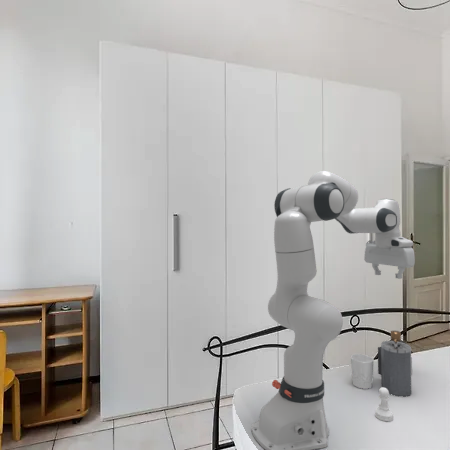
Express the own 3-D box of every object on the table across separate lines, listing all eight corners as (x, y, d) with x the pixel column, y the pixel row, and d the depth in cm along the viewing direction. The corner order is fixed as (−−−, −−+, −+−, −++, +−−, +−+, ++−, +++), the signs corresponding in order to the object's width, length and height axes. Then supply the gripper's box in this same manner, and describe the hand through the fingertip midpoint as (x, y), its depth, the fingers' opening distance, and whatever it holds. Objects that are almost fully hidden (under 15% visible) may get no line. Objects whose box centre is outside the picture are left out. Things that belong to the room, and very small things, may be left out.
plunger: (397, 389, 114) (397, 336, 114) (381, 380, 120) (380, 330, 120) (411, 385, 117) (410, 333, 117) (394, 377, 123) (394, 327, 123)
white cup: (376, 391, 118) (375, 363, 118) (352, 389, 119) (352, 361, 119) (371, 380, 126) (370, 354, 126) (349, 379, 127) (348, 353, 127)
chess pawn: (375, 410, 105) (375, 382, 105) (392, 414, 103) (392, 385, 103) (375, 419, 101) (374, 389, 101) (393, 423, 99) (393, 393, 99)
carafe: (398, 399, 112) (398, 352, 112) (370, 383, 123) (370, 341, 123) (417, 393, 116) (417, 347, 116) (388, 378, 127) (388, 337, 127)
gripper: (360, 240, 136) (360, 273, 136) (405, 242, 118) (405, 281, 118) (371, 239, 139) (372, 272, 139) (417, 242, 120) (417, 279, 120)
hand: (387, 276), depth 128 cm, fingers open, 8 cm apart
